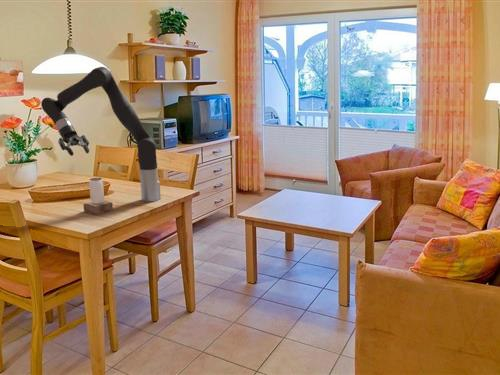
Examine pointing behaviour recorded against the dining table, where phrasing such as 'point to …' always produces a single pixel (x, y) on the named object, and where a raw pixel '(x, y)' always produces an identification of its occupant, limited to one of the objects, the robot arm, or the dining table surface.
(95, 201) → the can
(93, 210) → the pedestal
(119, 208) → the dining table surface
